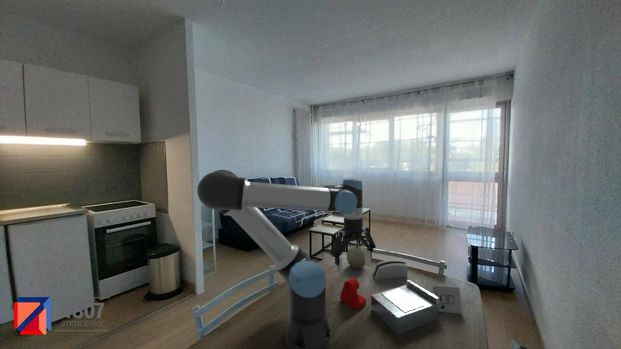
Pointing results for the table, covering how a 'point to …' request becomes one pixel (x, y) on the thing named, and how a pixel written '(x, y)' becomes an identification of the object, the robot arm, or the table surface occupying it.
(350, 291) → the bracket
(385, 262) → the grey curved slab
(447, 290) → the electrical switch
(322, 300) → the robot arm
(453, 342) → the table surface
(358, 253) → the fruit
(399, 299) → the grey ridged box
